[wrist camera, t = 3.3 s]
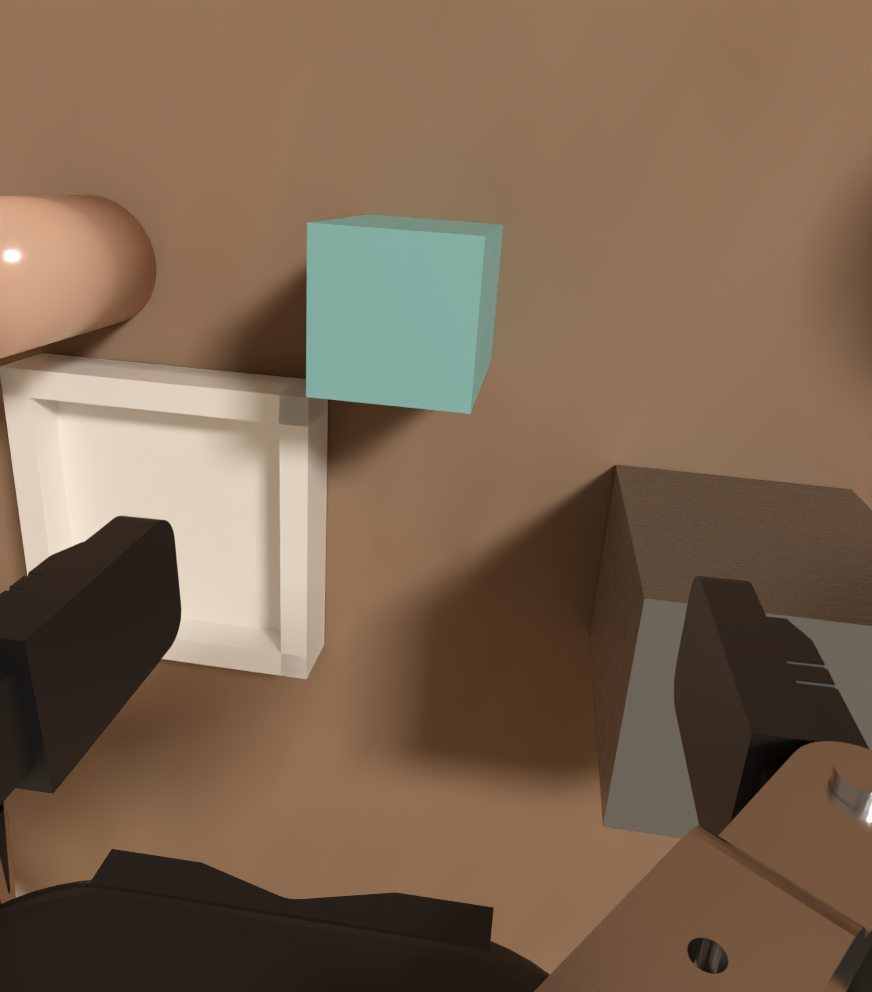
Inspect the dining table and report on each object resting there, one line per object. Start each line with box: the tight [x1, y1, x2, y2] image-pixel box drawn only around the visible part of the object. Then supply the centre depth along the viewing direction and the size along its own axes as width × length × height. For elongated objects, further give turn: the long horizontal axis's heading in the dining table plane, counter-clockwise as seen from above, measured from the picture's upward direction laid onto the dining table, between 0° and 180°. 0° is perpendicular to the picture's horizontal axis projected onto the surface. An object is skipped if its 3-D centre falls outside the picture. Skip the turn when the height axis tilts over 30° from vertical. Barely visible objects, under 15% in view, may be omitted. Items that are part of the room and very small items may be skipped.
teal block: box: [306, 214, 503, 414], centre depth 24 cm, size 4×4×7 cm
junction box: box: [589, 465, 872, 838], centre depth 24 cm, size 7×8×11 cm
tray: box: [0, 353, 328, 679], centre depth 30 cm, size 11×11×2 cm
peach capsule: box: [0, 195, 156, 358], centre depth 25 cm, size 4×4×7 cm
